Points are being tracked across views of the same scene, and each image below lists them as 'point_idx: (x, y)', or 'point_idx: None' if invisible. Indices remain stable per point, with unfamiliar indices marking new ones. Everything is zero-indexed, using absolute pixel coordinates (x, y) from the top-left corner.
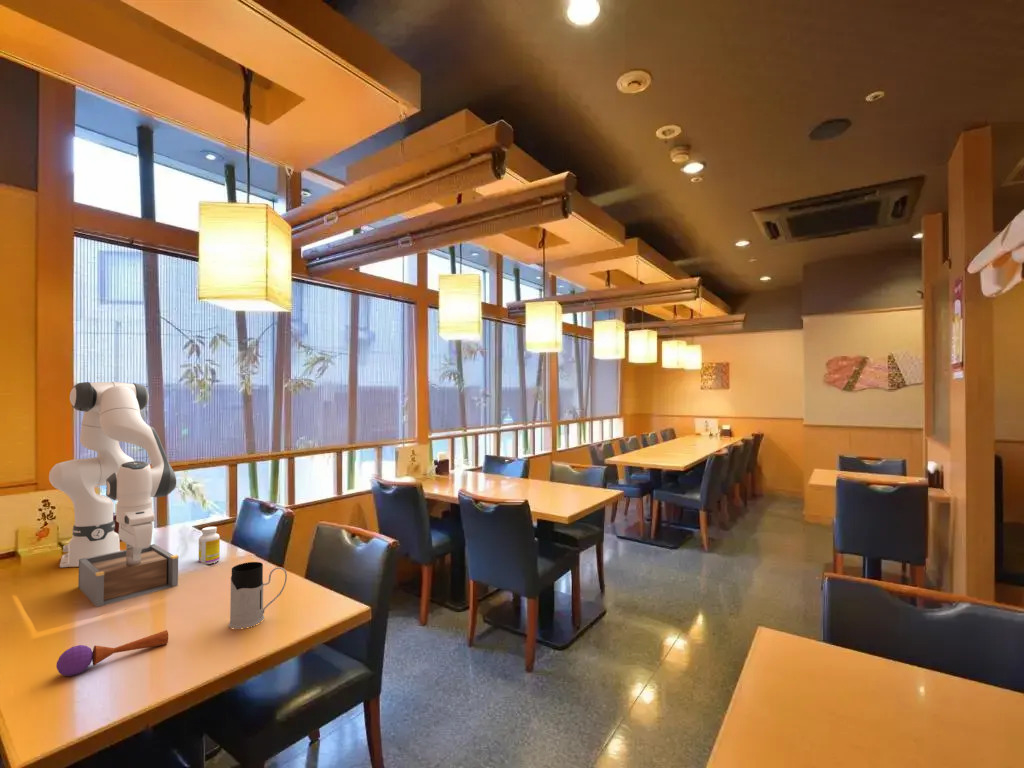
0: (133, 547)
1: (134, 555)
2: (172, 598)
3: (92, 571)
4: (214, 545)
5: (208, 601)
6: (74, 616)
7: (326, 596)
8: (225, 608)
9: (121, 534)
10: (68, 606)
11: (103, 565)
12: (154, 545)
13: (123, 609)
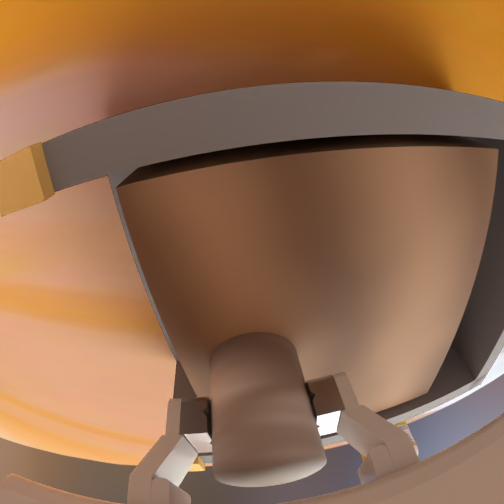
0: (47, 494)
1: (169, 434)
2: (100, 341)
3: (182, 100)
4: (362, 457)
5: (46, 380)
6: (106, 53)
7: (30, 443)
8: (7, 381)
9: (500, 481)
10: (280, 24)
11: (403, 200)
12: (466, 389)
13: (68, 218)
